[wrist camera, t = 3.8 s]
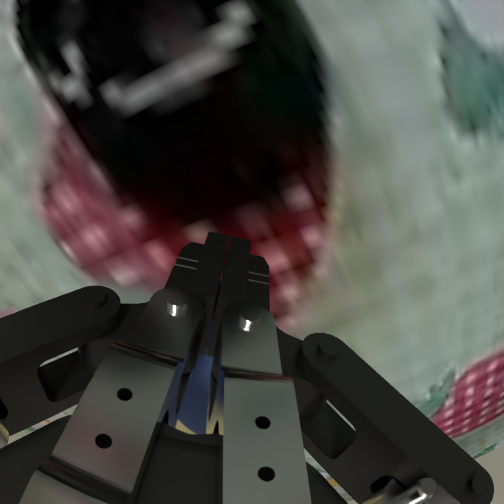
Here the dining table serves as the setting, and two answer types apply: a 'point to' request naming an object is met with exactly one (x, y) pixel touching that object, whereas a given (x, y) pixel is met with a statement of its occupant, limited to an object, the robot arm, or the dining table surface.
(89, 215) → the dining table surface
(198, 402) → the ball
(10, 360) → the robot arm
